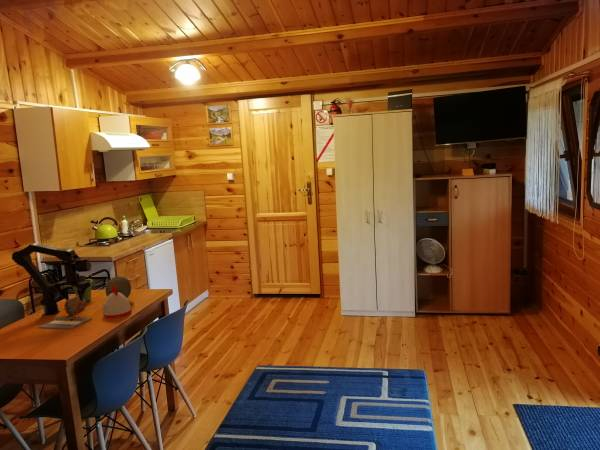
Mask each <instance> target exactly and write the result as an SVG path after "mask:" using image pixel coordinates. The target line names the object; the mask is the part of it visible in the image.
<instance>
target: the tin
mask: <svg viewBox="0 0 600 450" xmlns="http://www.w3.org/2000/svg"><path fill="white" fill-rule="evenodd" d="M86 306H87V301H86V298H85V296H84V297H83V300H82V301H81V300H80V298H79V295H77V296H76V295H75V296H73V297H71V298H69V300H66V301H65V303H64V311H65V313H66V314H67V315H76V314H78V313H79V312H81V311H83V310H85V308H86Z"/></svg>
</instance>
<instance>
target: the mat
mask: <svg viewBox="0 0 600 450" xmlns="http://www.w3.org/2000/svg"><path fill="white" fill-rule="evenodd" d="M70 319H73V321H69V320H70ZM74 319H75V320H74ZM91 320H92V317H69V316H68V317H67V316H65V317H64V316H62V317H61V316H59V317H57V318H55V319H53V320H50V321H48V322H46V323H43V324H42V325H40V326H38V329H50V328H52V329H54V328H56V329H54V330H73V329H76V328H77V327H79V326H81V325H83V324H86V323H87V322H89V321H91ZM52 329H51V330H52Z"/></svg>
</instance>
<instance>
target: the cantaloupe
mask: <svg viewBox="0 0 600 450" xmlns="http://www.w3.org/2000/svg"><path fill="white" fill-rule="evenodd" d="M131 285H132V284H131V282H130V281H129V279H128V278H127V277H125V276H114V277H112V278H110V279H109V280H108V281H107V283H106V286H105V294H106V297H108V296H109V295H110V294H111V293H112V290H111V288H112V286H115V287H116V289H117V292H119V293H121V294H123V295H124V296H125V297H126V298H127V299H128V298H129V297H130V295H131V293H132V286H131Z"/></svg>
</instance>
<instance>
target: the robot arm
mask: <svg viewBox="0 0 600 450" xmlns="http://www.w3.org/2000/svg"><path fill="white" fill-rule="evenodd" d="M34 253H39V254H42V255H47V256H51V257H56V259H58V260H61V262H60V263H59V266H63V270H64V275H63V278H65V280H62V281H61V280H60V281H59V282H56V283H53V284H52V283H50V282H49V281H48V280H47V279H46V277H45V276H44V275H43V273H42V272H41V271H40V270H39V268H37V266H36V264H35V263H33V260H32V256H31V254H34ZM11 260H12V261H13V262H14V263H16V264H17V265H18V266H20V267H22V268H23V269H24V270H25V272H27V274H28V275H29V276H30V277H31V279H32V280H33V281H34V282H35V283H36V285H37V286H38V287H39V288H40V292H41V295H42V297H43V298H42V299H41V300H40V301H39V303H40V305H41V306H43V312H44V313H42V316H53V315H57V314H58V313H60V312H61V310H59V306H58V300H59V297H60V295H62V296H63V297H64V299H65V300H66V301H67V300H69V299H70V298H69V297H70V296H69V288H71V287H72V288H73V287H77V288H78V290H77V292H78V295H79V298H80V300H81V301H82V300H83V297H84V293H85V290H86V289H87V288H88V287H90V282H85V279H86V275H80V273H84V272H91V270H92V263H91V262H90V260H89V258H83V259H82V258H81V257H80V256H79V255H78V254H77V253H76V251H75V250H74V249H73V248H68V247H67V248H63V247H62V248H59V247H58V248H57V247H52V246H48V245H44V244H39V243H36V242H33V243H30V244H28V245H27V246H26V247H24V248H23V249H20V250H17V251H16V250H15V251H13V253H12V254H11ZM81 281H83V282H81ZM79 282H81V283H79Z"/></svg>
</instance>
